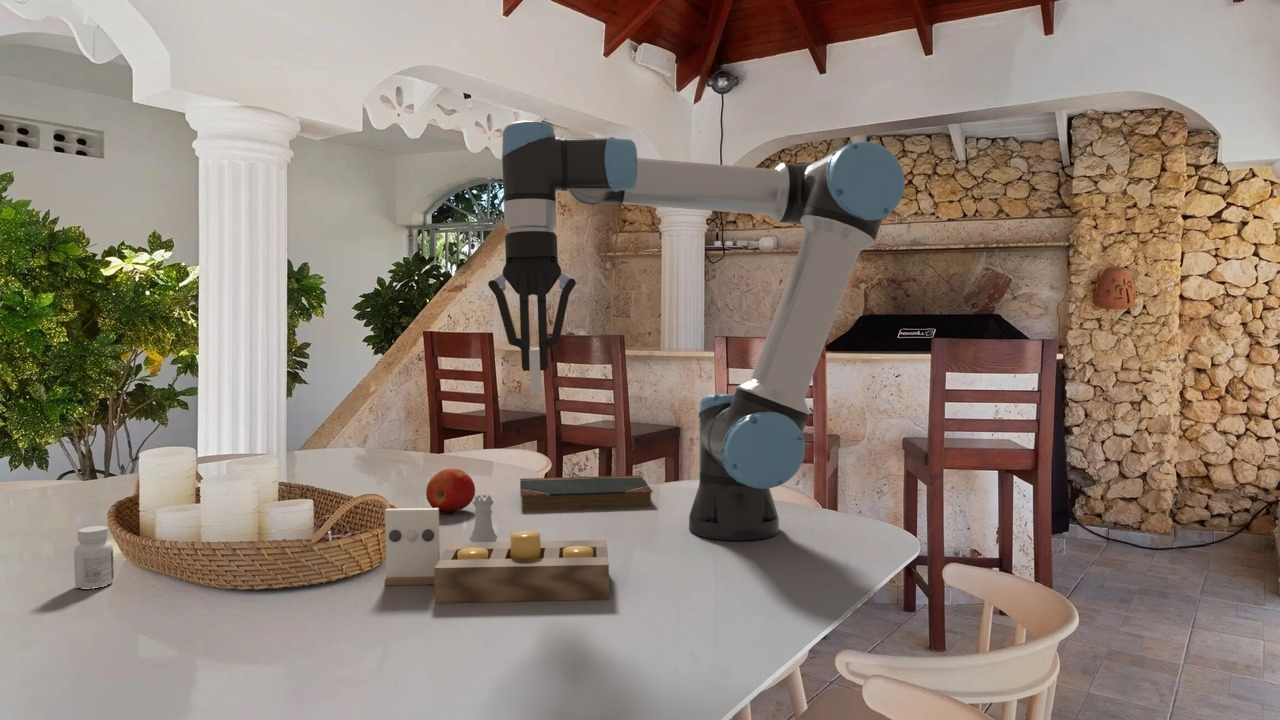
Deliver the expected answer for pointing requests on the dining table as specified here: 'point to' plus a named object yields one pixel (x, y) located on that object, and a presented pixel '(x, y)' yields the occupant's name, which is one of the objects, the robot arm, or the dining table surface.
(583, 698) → the dining table surface
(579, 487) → the book
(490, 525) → the rook chess piece
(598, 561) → the board
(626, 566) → the dining table surface
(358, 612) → the dining table surface
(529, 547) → the button middle
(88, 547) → the pill bottle
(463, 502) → the apple
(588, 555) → the button
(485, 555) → the button
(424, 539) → the card
